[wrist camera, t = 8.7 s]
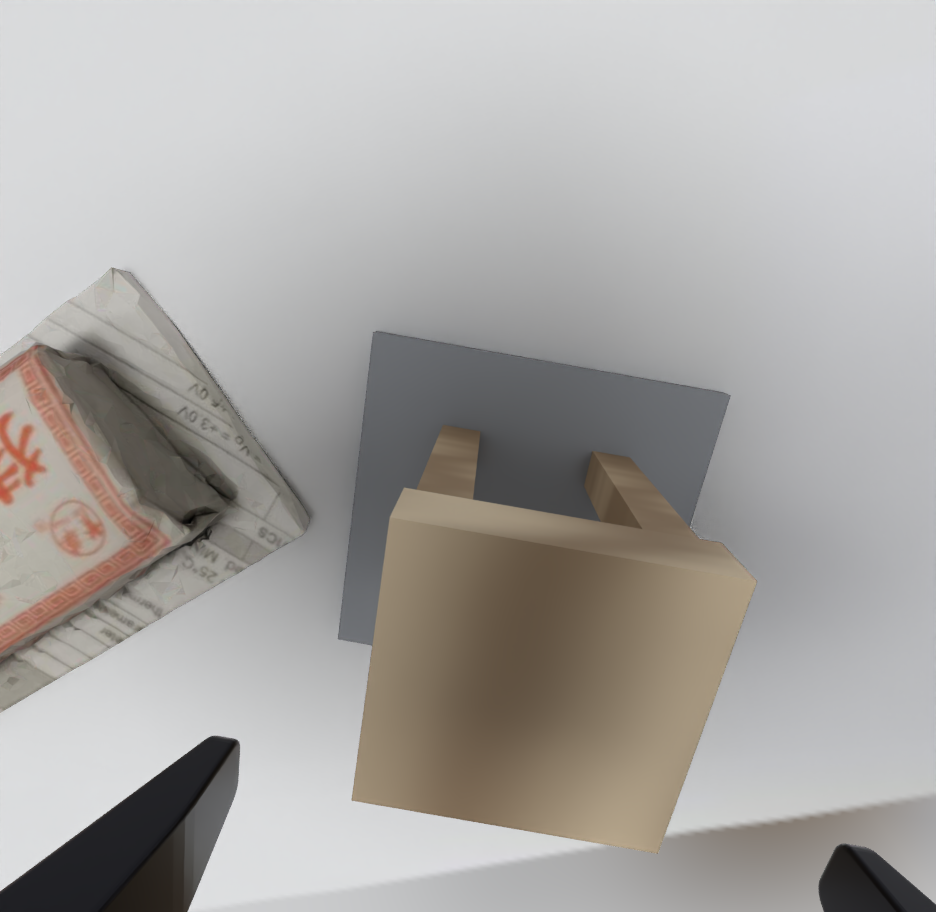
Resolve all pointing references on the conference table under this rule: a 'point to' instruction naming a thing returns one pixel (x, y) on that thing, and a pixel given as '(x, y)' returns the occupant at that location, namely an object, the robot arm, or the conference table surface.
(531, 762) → the stool
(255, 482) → the packaged product
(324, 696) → the conference table surface
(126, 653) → the conference table surface
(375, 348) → the mat
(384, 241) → the conference table surface
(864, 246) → the conference table surface
